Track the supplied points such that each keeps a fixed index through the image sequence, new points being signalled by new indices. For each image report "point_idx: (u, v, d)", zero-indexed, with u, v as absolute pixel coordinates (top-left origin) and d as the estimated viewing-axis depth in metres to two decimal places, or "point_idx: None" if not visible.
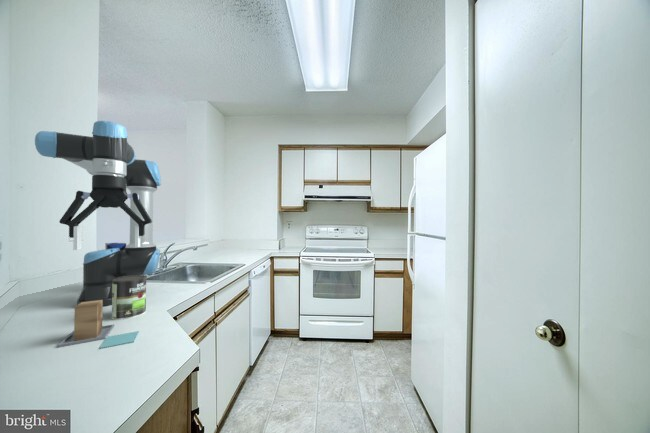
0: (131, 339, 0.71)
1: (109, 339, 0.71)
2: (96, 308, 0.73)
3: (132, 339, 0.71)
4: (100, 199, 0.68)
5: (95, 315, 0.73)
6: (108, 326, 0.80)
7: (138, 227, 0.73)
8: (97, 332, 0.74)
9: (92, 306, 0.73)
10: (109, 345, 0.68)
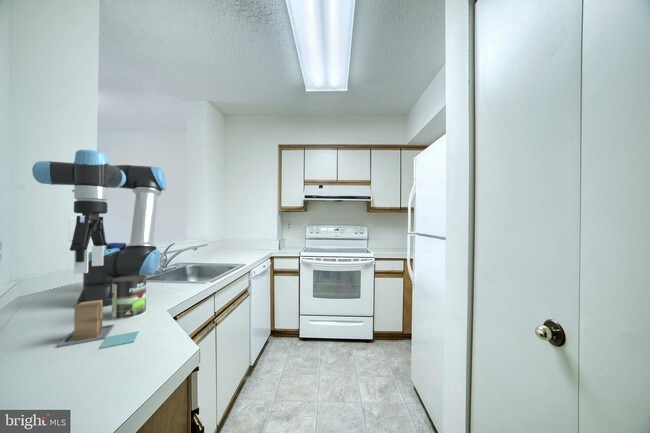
0: (131, 339, 0.71)
1: (109, 339, 0.71)
2: (96, 308, 0.73)
3: (132, 339, 0.71)
4: None
5: (95, 315, 0.73)
6: (108, 326, 0.80)
7: None
8: (97, 332, 0.74)
9: (92, 306, 0.73)
10: (109, 345, 0.68)
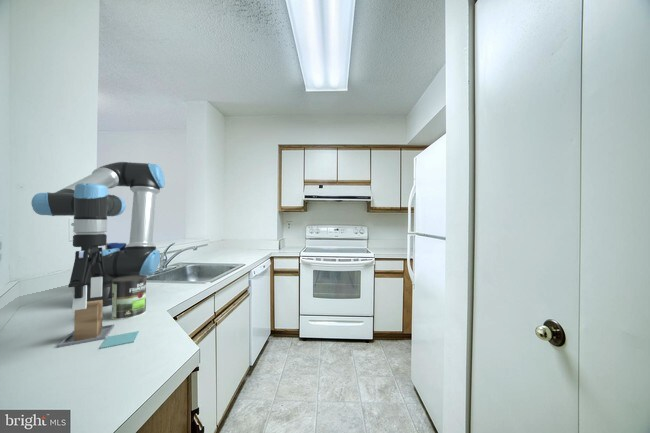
0: (131, 339, 0.71)
1: (109, 339, 0.71)
2: (96, 308, 0.73)
3: (132, 339, 0.71)
4: None
5: (95, 315, 0.73)
6: (108, 326, 0.80)
7: (74, 288, 0.67)
8: (97, 332, 0.74)
9: (92, 306, 0.73)
10: (109, 345, 0.68)
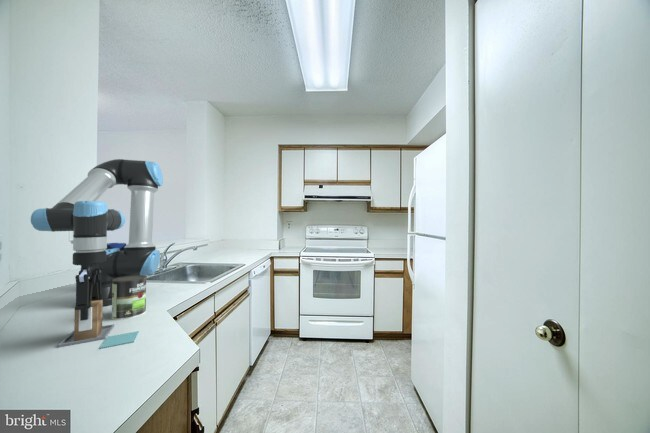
0: (131, 339, 0.71)
1: (109, 339, 0.71)
2: (96, 308, 0.73)
3: (132, 339, 0.71)
4: None
5: (95, 315, 0.73)
6: (108, 326, 0.80)
7: None
8: (97, 332, 0.74)
9: (92, 306, 0.73)
10: (109, 345, 0.68)
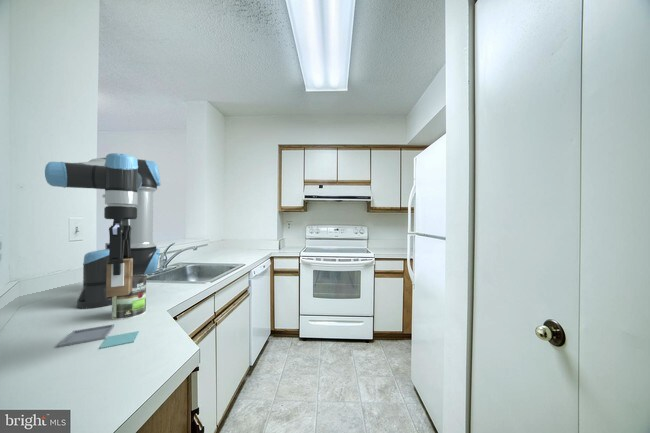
0: (131, 339, 0.71)
1: (109, 339, 0.71)
2: (128, 264, 0.71)
3: (132, 339, 0.71)
4: None
5: (127, 271, 0.71)
6: (108, 326, 0.80)
7: (112, 265, 0.69)
8: (129, 289, 0.71)
9: (124, 262, 0.70)
10: (109, 345, 0.68)
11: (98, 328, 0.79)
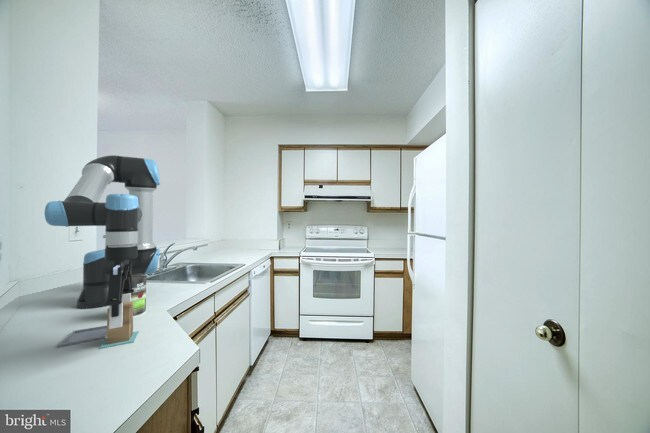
0: (131, 339, 0.71)
1: None
2: (128, 310, 0.71)
3: (132, 339, 0.71)
4: None
5: (127, 317, 0.71)
6: None
7: None
8: (129, 335, 0.71)
9: (124, 308, 0.70)
10: (109, 345, 0.68)
11: (98, 328, 0.79)
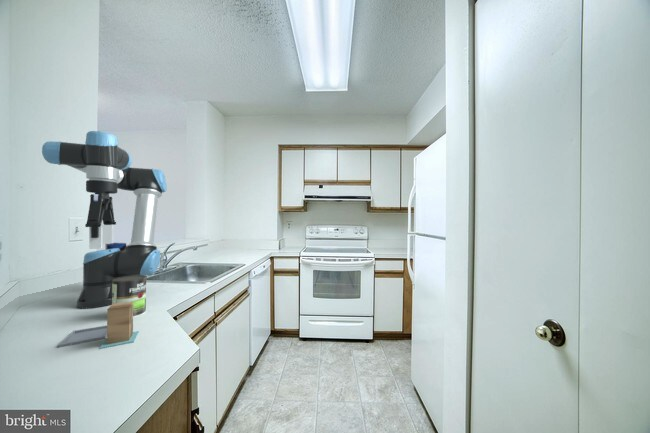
0: (131, 339, 0.71)
1: None
2: (128, 310, 0.71)
3: (132, 339, 0.71)
4: None
5: (127, 317, 0.71)
6: None
7: (90, 228, 0.72)
8: (129, 335, 0.71)
9: (124, 308, 0.70)
10: (109, 345, 0.68)
11: (98, 328, 0.79)
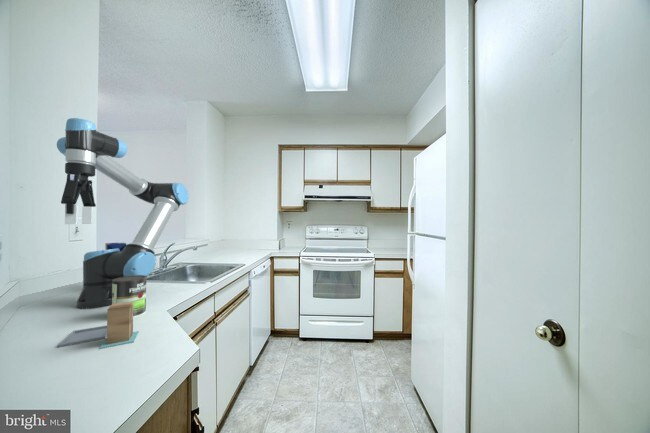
0: (131, 339, 0.71)
1: None
2: (128, 310, 0.71)
3: (132, 339, 0.71)
4: None
5: (127, 317, 0.71)
6: None
7: None
8: (129, 335, 0.71)
9: (124, 308, 0.70)
10: (109, 345, 0.68)
11: (98, 328, 0.79)
